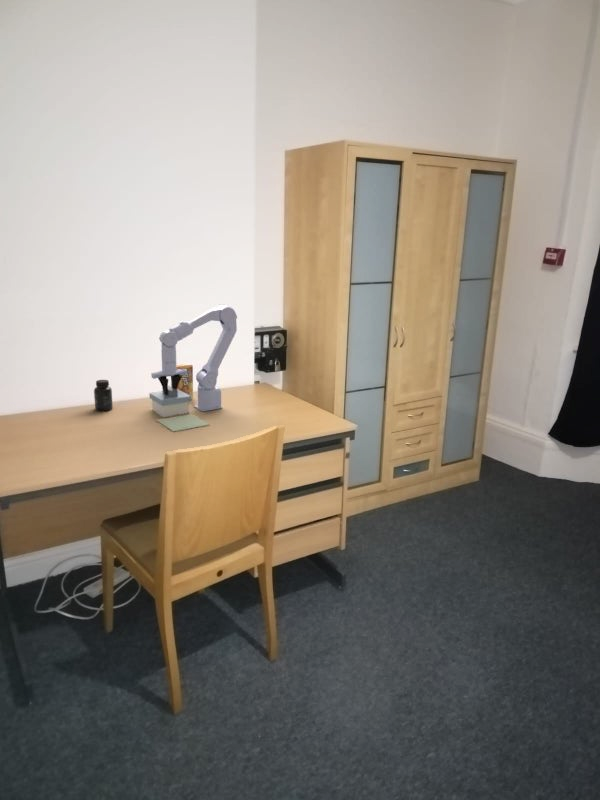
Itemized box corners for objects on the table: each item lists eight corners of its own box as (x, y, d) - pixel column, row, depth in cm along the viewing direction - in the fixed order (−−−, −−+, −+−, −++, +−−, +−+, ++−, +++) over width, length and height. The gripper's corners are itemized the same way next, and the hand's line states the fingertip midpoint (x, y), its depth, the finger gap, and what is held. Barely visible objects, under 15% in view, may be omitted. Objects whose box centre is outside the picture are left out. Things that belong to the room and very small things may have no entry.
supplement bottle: (92, 408, 234) (90, 380, 230) (108, 405, 238) (107, 378, 235) (99, 412, 229) (97, 384, 226) (115, 410, 233) (113, 381, 230)
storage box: (177, 406, 242) (176, 394, 240) (188, 412, 233) (188, 401, 232) (152, 409, 235) (152, 398, 234) (163, 417, 227) (163, 405, 225)
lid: (177, 393, 241) (177, 383, 240) (191, 401, 232) (190, 389, 230) (149, 398, 234) (149, 386, 233) (162, 405, 224) (161, 394, 223)
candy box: (188, 396, 256) (188, 363, 252) (193, 398, 253) (193, 365, 249) (171, 399, 251) (170, 365, 246) (175, 401, 248) (174, 367, 243)
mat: (191, 414, 231) (191, 413, 231) (209, 425, 219) (209, 424, 219) (156, 420, 222) (156, 419, 222) (173, 431, 211) (173, 430, 211)
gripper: (181, 357, 235) (182, 388, 239) (147, 360, 227) (149, 393, 231) (189, 360, 230) (189, 392, 234) (155, 364, 222) (156, 397, 225)
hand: (170, 393), depth 232 cm, fingers closed on lid, 3 cm apart
